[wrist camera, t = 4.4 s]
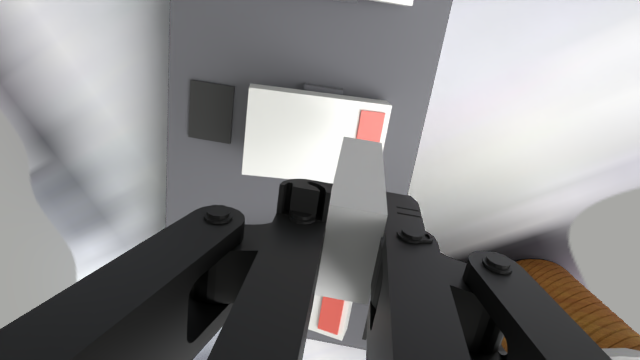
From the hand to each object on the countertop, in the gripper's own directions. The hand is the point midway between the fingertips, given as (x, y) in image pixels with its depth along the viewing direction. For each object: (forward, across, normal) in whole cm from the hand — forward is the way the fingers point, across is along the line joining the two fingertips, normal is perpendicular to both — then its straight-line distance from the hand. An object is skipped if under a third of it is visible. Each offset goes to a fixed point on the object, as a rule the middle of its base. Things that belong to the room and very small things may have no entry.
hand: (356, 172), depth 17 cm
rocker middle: (+5, -2, 0) cm, 6 cm away
